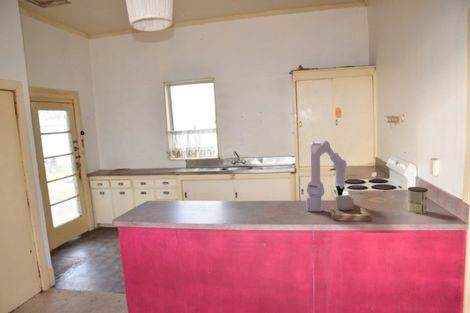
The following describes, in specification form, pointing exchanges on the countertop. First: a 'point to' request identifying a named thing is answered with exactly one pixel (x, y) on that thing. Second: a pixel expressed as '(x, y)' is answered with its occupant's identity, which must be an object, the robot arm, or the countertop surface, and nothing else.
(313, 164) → the robot arm
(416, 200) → the coffee can
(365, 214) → the wooden bay
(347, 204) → the teacup
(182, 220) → the countertop surface
